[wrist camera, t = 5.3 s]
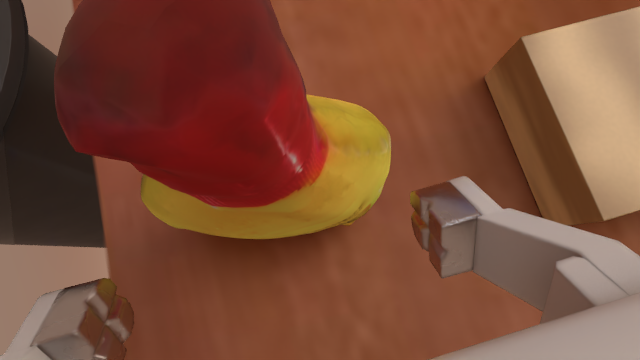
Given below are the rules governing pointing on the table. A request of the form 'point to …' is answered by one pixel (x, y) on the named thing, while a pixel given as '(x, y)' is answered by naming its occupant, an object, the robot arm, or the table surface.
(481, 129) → the table surface
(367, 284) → the table surface
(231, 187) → the bottle
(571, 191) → the birch block
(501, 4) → the table surface
